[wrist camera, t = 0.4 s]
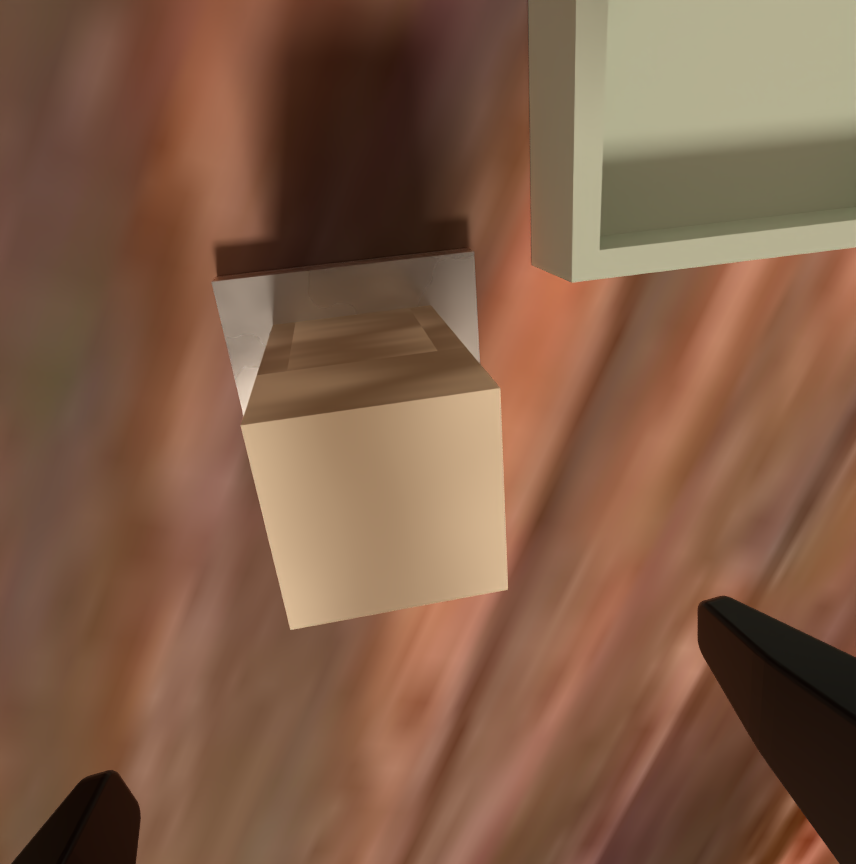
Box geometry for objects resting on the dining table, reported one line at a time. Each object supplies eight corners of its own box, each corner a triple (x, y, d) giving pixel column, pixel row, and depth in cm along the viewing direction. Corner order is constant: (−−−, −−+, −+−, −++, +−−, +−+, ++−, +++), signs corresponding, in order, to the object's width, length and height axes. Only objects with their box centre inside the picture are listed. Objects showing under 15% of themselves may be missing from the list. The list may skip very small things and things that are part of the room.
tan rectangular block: (430, 304, 19) (500, 388, 11) (442, 444, 21) (507, 589, 14) (272, 324, 18) (240, 425, 11) (301, 466, 20) (290, 629, 13)
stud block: (466, 247, 19) (515, 272, 14) (479, 463, 22) (521, 541, 18) (216, 276, 18) (179, 313, 13) (268, 496, 22) (253, 588, 17)
